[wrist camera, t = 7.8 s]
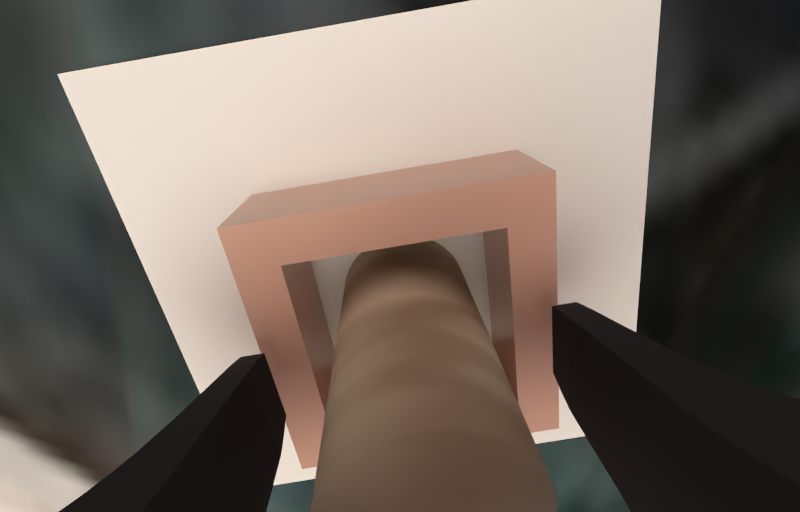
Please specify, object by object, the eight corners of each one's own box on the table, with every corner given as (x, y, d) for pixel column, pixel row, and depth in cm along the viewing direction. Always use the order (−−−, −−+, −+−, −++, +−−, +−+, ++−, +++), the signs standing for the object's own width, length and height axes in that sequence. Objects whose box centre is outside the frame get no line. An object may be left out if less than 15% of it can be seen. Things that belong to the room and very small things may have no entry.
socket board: (641, -26, 12) (761, -71, 8) (615, 411, 18) (676, 496, 14) (81, 74, 12) (-48, 74, 8) (249, 469, 18) (218, 567, 15)
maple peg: (482, 253, 14) (601, 458, 6) (440, 351, 15) (499, 609, 8) (363, 219, 13) (345, 405, 6) (332, 325, 15) (286, 581, 7)
